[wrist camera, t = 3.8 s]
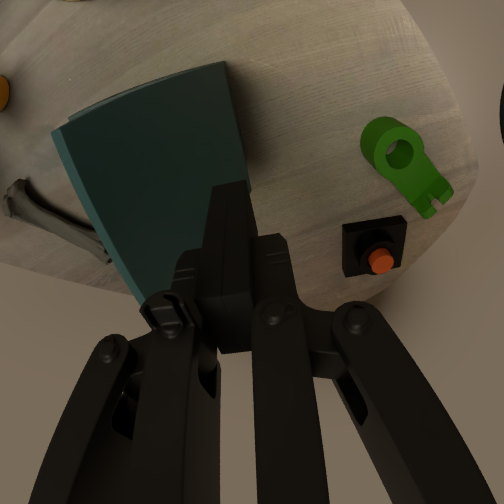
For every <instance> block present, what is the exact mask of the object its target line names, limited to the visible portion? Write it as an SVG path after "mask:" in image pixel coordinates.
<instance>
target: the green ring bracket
mask: <svg viewBox="0 0 504 504" xmlns="http://www.w3.org/2000/svg"><path fill="white" fill-rule="evenodd" d="M396 140H397V145H396V148H395V149H394V151H393V152H392V153H390V154H388V155H386V152H387V149H388V147H389V146H390V144H391V143H393V142H394V141H396ZM360 146H361V151H362V153H363V155H364V157H365V158H366V159H367V160H368V161H369V163H370V164H371V165H372V166H373V167H374V168H375V169H376V170H377V171H378V172H379V173H380V174H381V175H382V176H383V177H384V178H386V179H388V180H390V181H391V182H392V183H393V184H394V185H395V186H396V187H397V188H398V190H399V191H400V192H401V193H402V194H403V195H404V196H405V197H406V198H407V200H408V201H409V202H410V203H411V204H412V205H413V206H414V208H415V209H416V210H417V211H418V212H419V214H420V215H421V216H422V217H423V218H424V219H429V218H431V217H432V216H433V215H434V214H435V213H436V212H437V211H436V209H435V208H434V207H433V205H432V204H431V202H432V200H433V199H438V200H439V201H440V202H441V203H442V204H443V205H444V204H445V203H446V202H447V201H448V200H449V199H450V198H451V197H452V195H453V193H454V190H453V188H452V187H451V185H450V184H449V182H448V181H447V180H446V179H445V178H443V177H442V176H441V175H440V174H439V172H438V171H437V169H436V168H435V167H434V165H433V164H432V163H431V161H430V160H429V158H428V157H427V156H426V154H425V153H424V145H423V142H422V139H421V138H420V136H419V135H418V134H417V133H416V132H415V131H414V130H412V129H411V128H409V127H408V126H406V125H404V124H403V123H401V122H399V121H397V120H396V119H394V118H391V117H379V118H376V119H374V120H372V121H371V122H370V123H369V124H368V125H367V126H366V127H365V128H364V130H363V132H362V135H361V139H360Z"/></svg>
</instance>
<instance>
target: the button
mask: <svg viewBox="0 0 504 504" xmlns="http://www.w3.org/2000/svg"><path fill="white" fill-rule="evenodd" d="M393 263H394V260H393V257H392V256H391V254H390V252H389V251H388V250H387V249H385V248H380V249H377V250H375V251H374V252H372V253H371V255H370V256H369V264H370V266H371V268H372V270H373V272H375V273H377V274H382V273H385V272H387V271H388V270H390V269H391V267H392V266H393Z"/></svg>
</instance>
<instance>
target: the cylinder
mask: <svg viewBox="0 0 504 504" xmlns="http://www.w3.org/2000/svg"><path fill="white" fill-rule="evenodd" d="M8 98H9V85H8V82H7V80H6V79H5V78H4V77H3V76H1V75H0V111H1V110H2V109H3V108H4V107H5V105H6V103H7V101H8Z"/></svg>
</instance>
